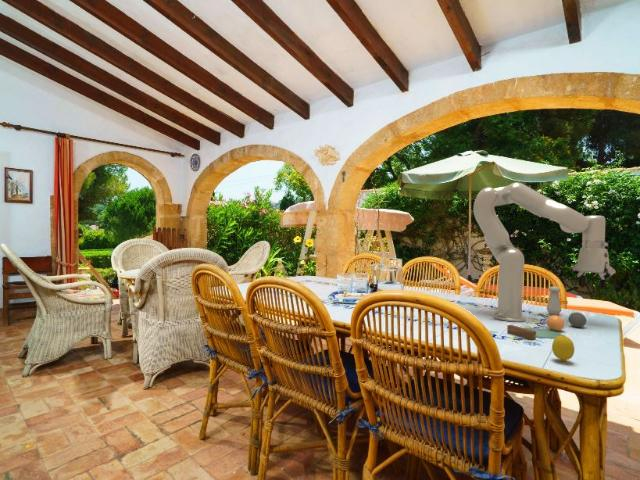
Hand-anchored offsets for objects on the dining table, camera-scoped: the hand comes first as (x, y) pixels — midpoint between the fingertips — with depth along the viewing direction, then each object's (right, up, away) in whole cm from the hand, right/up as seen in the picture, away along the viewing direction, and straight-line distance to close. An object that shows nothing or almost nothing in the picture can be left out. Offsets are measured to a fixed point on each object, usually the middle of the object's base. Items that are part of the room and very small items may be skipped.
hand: (592, 287), depth 154 cm
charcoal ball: (-9, -13, -4) cm, 16 cm away
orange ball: (-21, -13, -10) cm, 27 cm away
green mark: (-30, -16, -13) cm, 36 cm away
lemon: (-42, -17, -44) cm, 63 cm away
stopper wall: (-40, -16, -18) cm, 46 cm away
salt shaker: (-3, -15, +20) cm, 25 cm away
